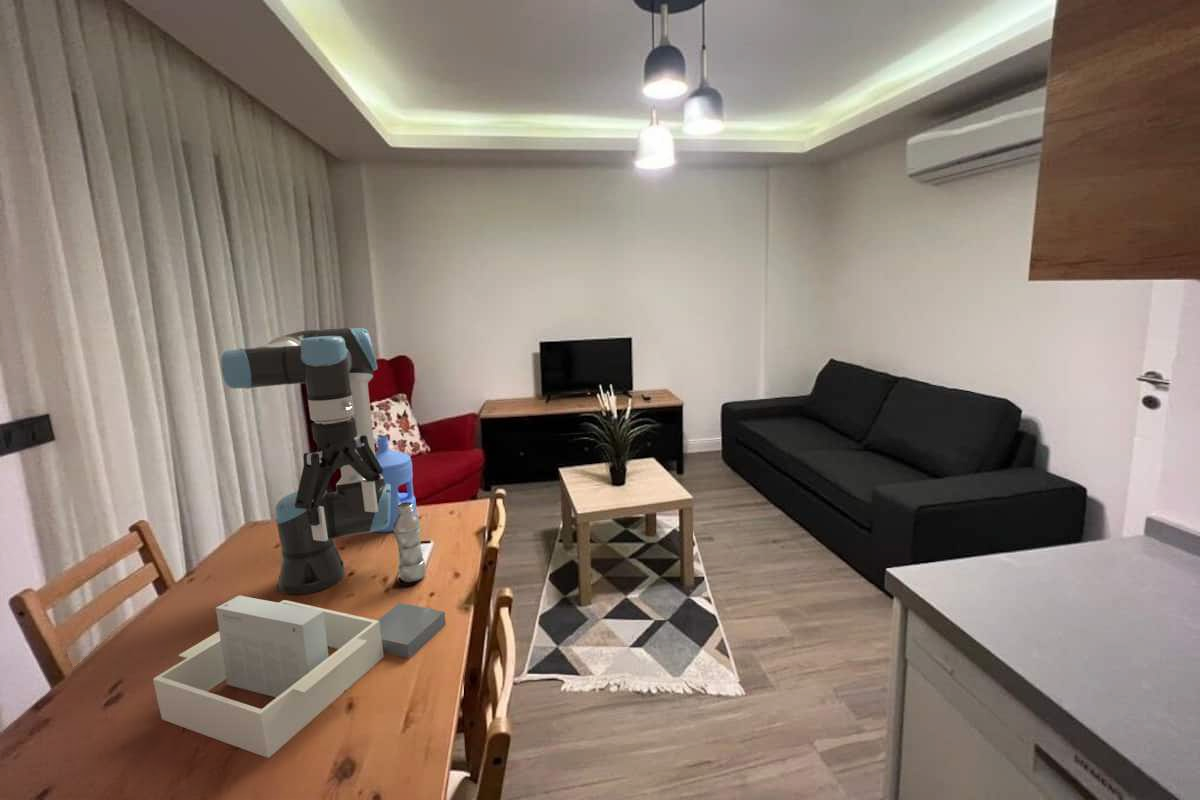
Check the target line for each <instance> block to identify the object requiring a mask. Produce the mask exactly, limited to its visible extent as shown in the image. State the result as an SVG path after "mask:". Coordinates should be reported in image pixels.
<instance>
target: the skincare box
mask: <svg viewBox="0 0 1200 800" xmlns="http://www.w3.org/2000/svg"><path fill="white" fill-rule="evenodd" d="M215 613H216V617H217V624H218V625H217V626H218V631H219V632H220V640H221V647H222V654H223V658H224V665H225V673H226V679H225V680H226V685H228V686H231V687H234V688H237V689H243V690H246V691H249V692H254V693H257V694H260V695H263V696H264V695H265V696H269V697H272V698H277V697H278V696H279V695H281V694H282V693H283V692H284V691H286V690H287V689H288V688H290V687H291V686H292V685H293V684H295V683H296V682H297V681H299V680H300V679H301V678H302V677H304V676H305V675H306V674H308V673H309V672H310V671H311V670H313V669H314V668H315V667H317V666H318V665H319V664H320V663H322V662H323V661H324V660H326V659H327V658H328V657H329V648H328V646H327V640H326V632H325V624H324V615H323V611H319V610H314V609H309V608H304V607H298V606H293V605H288V604H282V603H279V602H278V601H277V602H276V601H271V600H266V599H261V598H260V599H259V598H254V597H250V596H244V595H237V596H235V597H234V598H233V597H232V598H231V599H230V600H227V601H226V602H224V603H222V604H220V605H218V606H216V607H215Z"/></svg>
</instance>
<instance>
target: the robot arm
mask: <svg viewBox="0 0 1200 800" xmlns="http://www.w3.org/2000/svg"><path fill="white" fill-rule="evenodd" d="M220 361H221V364H220V367H221V375H222V378H223V381H224V382H225V384H226V386H227V388H228V387H229V388H230V389H251V388H262V387H263V388H264V387H274V386H281V385H282V386H284V385H297V384H298V385H299V384H305V387H306V394H307V402H308V404H307V405H308V409H309V410H308V411H309V418H310V420H311V421H313V422H312V423H311V430H312V431H311V432H312V438H313V441H314V442H315V443H316V445H317V451H316V452H305V453H304V454H303V457H302V458H303V469H302V473H301V476H300V477H301V478H300V480H299V485H298V490H297V491H293V492H291V493H290V494H287V495H285V496H284V497H282V498H281V499H280V500H278V502H277V503H276V505H275V517H276V518H275V523H276V526H277V530H278V537H279V542H280V549H281V555H282V561H281V566H280V572H279V575H278V578H277V579H278V580H277V582H278V586H279V588H278V589H279V591H280V592H282V593H283V594H284V595H291V596H295V595H296V596H301V595H308V594H309V595H310V594H312V593H316V592H320V591H322V590H325V589H327V588H329V587H332V586H333V585H336V584H337V583H338V582H340V581H341V580H342V579H343V578H344V577H345V574H346V568H345V563H344V560H343V559H342V557H341V556H340V554H339V552H338V549H336V546H335V542H334V539H337V538H338V539H339V538H343V537H350V536H355V535H361V534H367V533H370V534H371V533H373V532H374V531H378V530H382V529H385V528H387V527H388V525H389V523H390V506H391V485H390V484H387V483H386V484H385V482H384V477H383V476H381V475H380V474H382V473H383V469H382V468H381V466H380V464H379V462H378V460H377V459H376V456H375V452H376V449H375V439H374V432H373V431H374V430H373V421H372V412H371V411H372V410H371V403H370V394H369V393H370V391H369V382H370V381H371V380H372V379H373V378H374V371H376V370H378V369H379V367H378V364H377V359H376V356H375V351H374V346H373V343H372V339H371V336H370V332H369V331H368V329H366V328H363V327H350V326H349V327H345V328H329V329H316V330H315V329H314V330H313V329H311V330H310V329H308V330H302V331H297V332H293V333H289V334H285V335H282V336H279V337H276V338H273V339H272V340H270V341H269V343H267V344H264V345H261V346H258V347H250V348H242V347H241V348H240V347H239V348H238V349H229V350H226V351H224V352H223V353H222V355H221V359H220ZM339 469H340V473H341V475H340V476H341V477H340V479H339V480H338V481H337V483H336V484H335V490H336V491H332V492H331V491H330V492H328V490H327V488H328V485H329V483H330V481H331V478H332V475H334V474H335V473H336V471H337V470H339Z"/></svg>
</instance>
